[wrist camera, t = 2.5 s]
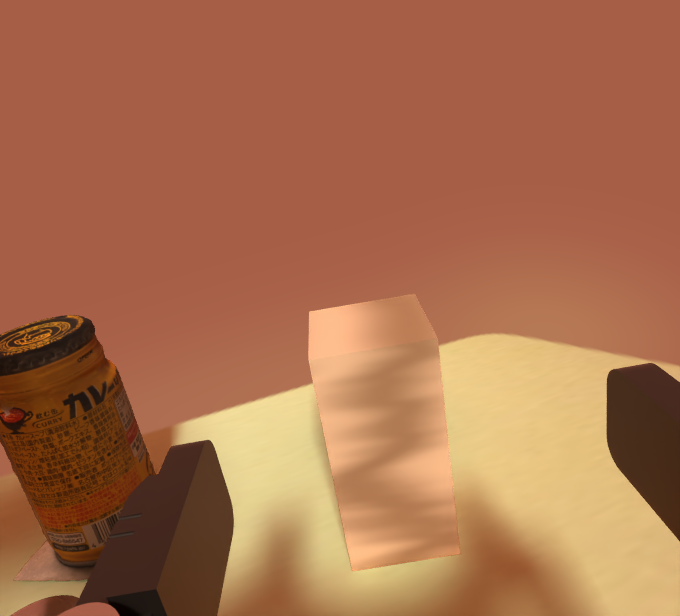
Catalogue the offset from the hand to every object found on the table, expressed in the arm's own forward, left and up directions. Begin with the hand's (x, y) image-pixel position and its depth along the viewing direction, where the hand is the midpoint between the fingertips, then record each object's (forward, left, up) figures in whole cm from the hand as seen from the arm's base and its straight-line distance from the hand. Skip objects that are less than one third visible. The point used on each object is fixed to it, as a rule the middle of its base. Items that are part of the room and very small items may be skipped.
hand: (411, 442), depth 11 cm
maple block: (0, +12, -13) cm, 18 cm away
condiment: (-15, +15, -14) cm, 25 cm away
